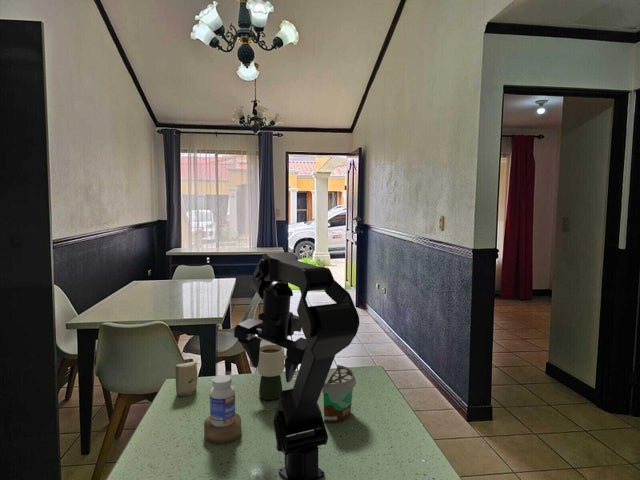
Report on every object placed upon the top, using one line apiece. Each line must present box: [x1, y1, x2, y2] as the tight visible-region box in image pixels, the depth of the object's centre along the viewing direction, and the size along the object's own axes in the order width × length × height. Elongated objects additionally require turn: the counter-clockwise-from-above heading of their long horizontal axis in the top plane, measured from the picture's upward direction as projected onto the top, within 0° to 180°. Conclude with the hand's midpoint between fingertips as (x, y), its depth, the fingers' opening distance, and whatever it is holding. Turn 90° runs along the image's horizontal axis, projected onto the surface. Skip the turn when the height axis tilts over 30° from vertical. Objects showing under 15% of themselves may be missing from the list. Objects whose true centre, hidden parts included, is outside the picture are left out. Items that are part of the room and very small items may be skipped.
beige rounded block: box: [175, 361, 198, 397], centre depth 112 cm, size 6×5×8 cm
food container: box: [321, 364, 357, 424], centre depth 101 cm, size 12×6×10 cm, turn 161°
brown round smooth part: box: [203, 412, 242, 445], centre depth 93 cm, size 8×8×3 cm
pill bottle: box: [209, 374, 236, 427], centre depth 92 cm, size 5×5×10 cm
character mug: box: [249, 343, 288, 401], centre depth 110 cm, size 11×7×13 cm, turn 90°
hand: (271, 374), depth 93 cm, fingers open, 9 cm apart
